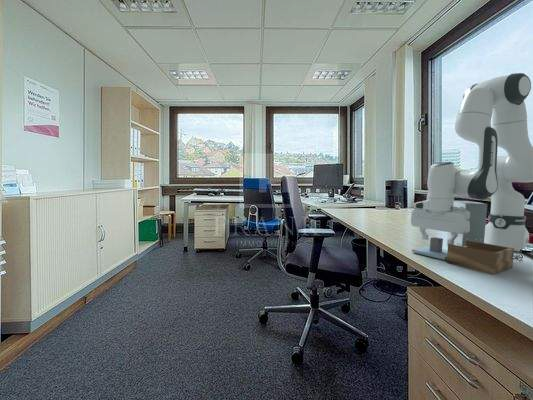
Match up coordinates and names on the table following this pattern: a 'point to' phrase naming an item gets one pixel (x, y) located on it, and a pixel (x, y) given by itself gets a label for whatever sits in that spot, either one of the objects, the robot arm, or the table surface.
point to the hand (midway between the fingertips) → (437, 241)
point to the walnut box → (481, 256)
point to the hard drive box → (472, 222)
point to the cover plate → (433, 254)
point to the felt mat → (430, 256)
